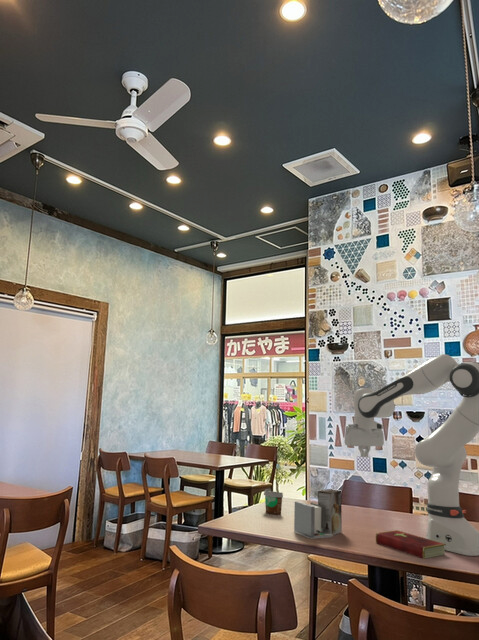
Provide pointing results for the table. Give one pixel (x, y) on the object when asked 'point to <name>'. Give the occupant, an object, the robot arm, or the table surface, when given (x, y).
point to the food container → (273, 502)
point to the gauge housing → (306, 521)
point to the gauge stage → (319, 517)
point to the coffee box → (331, 510)
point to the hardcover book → (410, 544)
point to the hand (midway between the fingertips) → (364, 456)
